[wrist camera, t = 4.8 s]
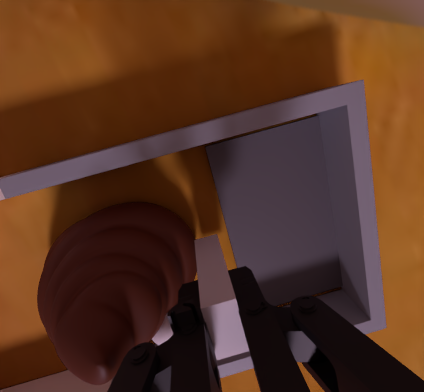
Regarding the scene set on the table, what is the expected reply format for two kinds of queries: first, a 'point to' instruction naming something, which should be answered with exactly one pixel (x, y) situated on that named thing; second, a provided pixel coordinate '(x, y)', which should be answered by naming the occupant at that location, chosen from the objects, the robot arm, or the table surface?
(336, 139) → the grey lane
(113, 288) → the poop emoji
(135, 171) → the table surface
